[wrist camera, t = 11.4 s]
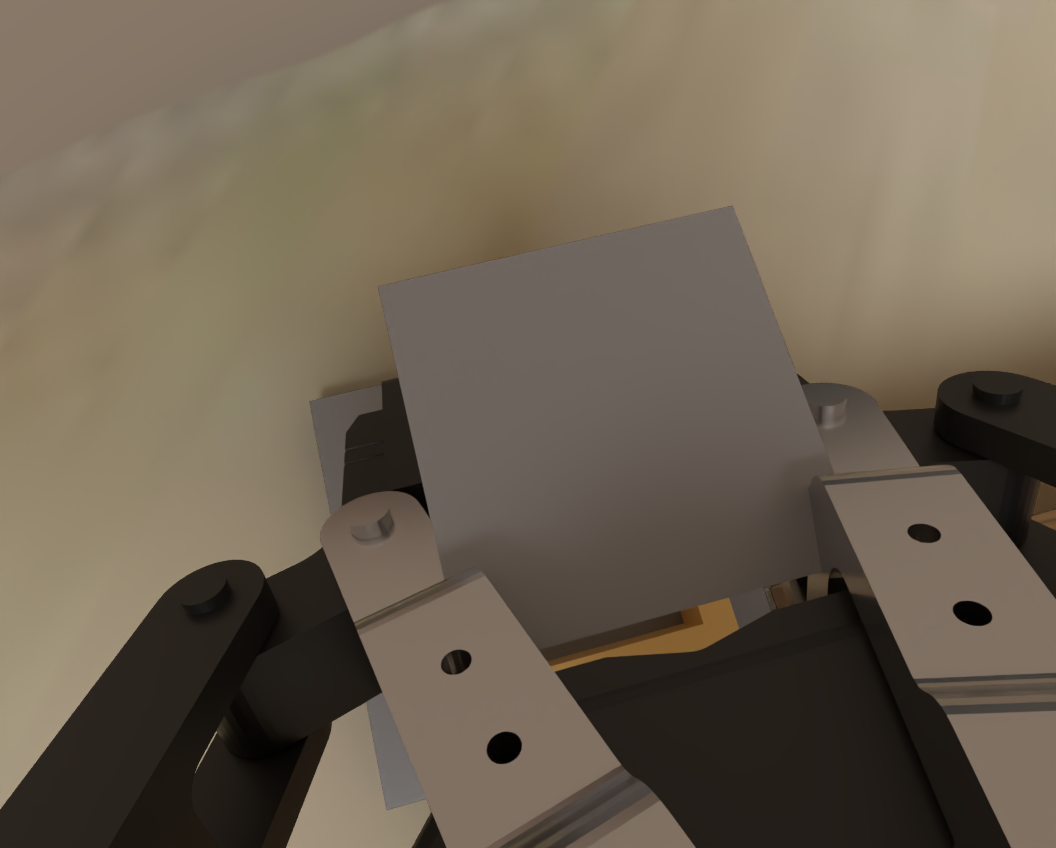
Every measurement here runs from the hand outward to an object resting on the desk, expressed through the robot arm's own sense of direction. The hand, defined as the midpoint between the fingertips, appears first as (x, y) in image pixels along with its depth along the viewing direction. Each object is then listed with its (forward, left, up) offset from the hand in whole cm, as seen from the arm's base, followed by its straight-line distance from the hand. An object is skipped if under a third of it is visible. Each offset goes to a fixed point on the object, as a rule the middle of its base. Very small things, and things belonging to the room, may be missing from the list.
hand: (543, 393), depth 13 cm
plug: (0, -2, -4) cm, 4 cm away
